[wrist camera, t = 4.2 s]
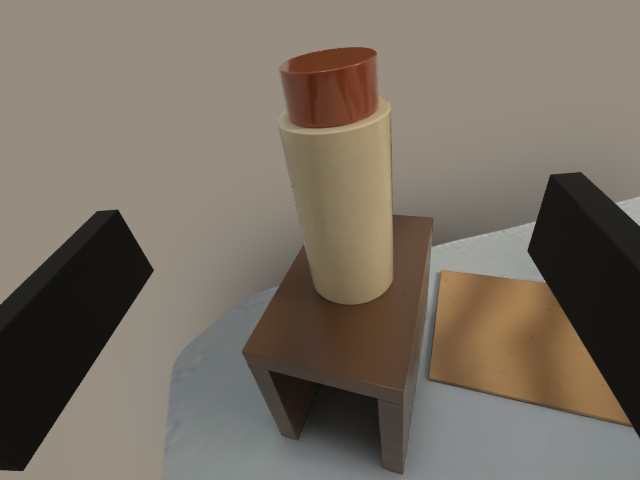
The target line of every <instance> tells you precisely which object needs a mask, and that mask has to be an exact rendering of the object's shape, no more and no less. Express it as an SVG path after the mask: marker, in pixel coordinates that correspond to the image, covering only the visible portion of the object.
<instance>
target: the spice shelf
mask: <svg viewBox="0 0 640 480" xmlns="http://www.w3.org/2000/svg"><path fill="white" fill-rule="evenodd" d="M432 229H433V218H429V217H416V216H403V215H393V268H394V276H393V280H392V283H391V285H390V287H389V288H388V289H387V290H386V291H385V292H384V293H383V294H382V295H381V296H379V297H378V298H376V299H374V300H372V301H369V302H366V303H362V304H356V305H344V304H338V303H334V302H331V301H329V300H327V299H325V298H324V297H322V296H321V295H320V294H319V293H318V292H317V291H316V289H315V288H314V285H313V283H312V278H311V273H310V269H309V264H308V260H307V255H306V251H305V246H304V245H303V246H302V248H301V250H300V252H299V254H298V255H297V257H296V259H295V260H294V262H293V264H292V266H291V267H290V269H289V271H288V272H287V274H286V276H285V278H284V279H283V281H282V283H281V285H280V286H279V288H278V290H277V291H276V293H275V295H274V297H273V298H272V300H271V302H270V303H269V305H268V307H267V309H266V310H265V312H264V314H263V316H262V317H261V319H260V321H259V322H258V324H257V326H256V328H255V329H254V331H253V333H252V335H251V336H250V338H249V340H248V341H247V343H246V345H245V347H244V348H243V350H242V353H243V355H244V358H245V360H246V362H247V364H248V366H249V368H250V370H251V372H252V374H253V376H254V378H255V380H256V382H257V385H258V387H259V389H260V391H261V393H262V395H263V397H264V399H265V401H266V403H267V405H268V407H269V410H270V412H271V414H272V416H273V418H274V420H275V422H276V424H277V426H278V428H279V430H280V432H281V435H283V436H286V437H289V438H293V439H296V440H298V438H299V435H300V432H301V430H302V427H303V424H304V421H305V419H306V416H307V413H308V410H309V408H310V405H311V402H312V399H313V397H314V394H315V391H316V388H317V386H318V383H320V384H324V385H328V386H331V387H335V388H339V389H343V390H347V391H350V392H354V393H358V394H362V395H366V396H370V397H373V398H377V401H378V414H379V426H380V438H381V451H382V463H383V468H384V469H387V470H390V471H393V472H396V473H399V474H403V470H404V463H405V456H406V449H407V443H408V436H409V429H410V422H411V415H412V408H413V401H414V394H415V387H416V380H417V373H418V366H419V360H420V353H421V346H422V339H423V332H424V325H425V318H426V311H427V299H428V285H429V271H430V257H431V243H432Z"/></svg>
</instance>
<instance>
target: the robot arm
mask: <svg viewBox="0 0 640 480" xmlns="http://www.w3.org/2000/svg"><path fill="white" fill-rule="evenodd" d="M528 253H529V255H530V256H531V258H532V260H533V261H534V263H535V265H536V266H537V268H538V270H539V271H540V273H541V275H542V276H543V278H544V280H545V281H546V283H547V285H548V286H549V288H550V290H551V291H552V293H553V295H554V296H555V298H556V300H557V301H558V303H559V305H560V306H561V308H562V310H563V311H564V313H565V315H566V316H567V318H568V320H569V321H570V323H571V325H572V326H573V328H574V330H575V331H576V333H577V335H578V336H579V338H580V340H581V341H582V343H583V344H584V346H585V348H586V349H587V351H588V353H589V354H590V356H591V358H592V359H593V361H594V363H595V364H596V366H597V368H598V369H599V371H600V373H601V374H602V376H603V378H604V379H605V381H606V383H607V384H608V386H609V388H610V389H611V391H612V393H613V394H614V396H615V398H616V399H617V401H618V403H619V404H620V406H621V408H622V409H623V411H624V413H625V414H626V416H627V418H628V419H629V421H630V423H631V424H632V426H633V428H634V429H635V431H636V433H637V434H638V436H639V438H640V226H639V225H638V224H637V223H636V222H635V221H633V220H632V219H631V218H630V217H629V216H628V215H627V214H626V213H625V212H624V211H623V210H621V209H620V208H619V207H618V206H617V205H616V204H615V203H614V202H613V201H612V200H611V199H610V198H608V197H607V196H606V195H605V194H604V193H603V192H602V191H601V190H600V189H599V188H598V187H597V186H595V185H594V184H593V183H592V182H591V181H590V180H589V179H588V178H587V177H586V176H584V175H583V174H582V173H581V172H578V173H565V174H553V175H550V177H549V181H548V184H547V188H546V191H545V194H544V197H543V201H542V204H541V208H540V211H539V214H538V217H537V221H536V224H535V227H534V231H533V234H532V237H531V241H530V244H529V247H528ZM153 271H154V270H153V268H152V266H151V265H150V263H149V261H148V260H147V258H146V256H145V255H144V253H143V251H142V249H141V248H140V246H139V244H138V243H137V241H136V239H135V238H134V236H133V234H132V232H131V231H130V229H129V228H128V226H127V224H126V222H125V221H124V219H123V217H122V216H121V214H120V212H119V211H118V210H106V211H97V212H96V213H95V214H94V215H93V216H92V217H91V218H90V219H89V220H88V221H87V222H86V223H84V224H83V225H82V226H81V227H80V228H79V229H78V230H77V231H76V232H75V233H74V234H73V235H72V236H71V237H70V238H69V239H68V240H67V241H66V242H65V243H64V244H63V245H62V246H61V247H60V248H59V249H58V250H57V251H55V252H54V253H53V254H52V255H51V256H50V257H49V258H48V259H47V260H46V261H45V262H44V263H43V264H42V265H41V266H40V267H39V268H38V269H37V270H36V271H35V272H34V273H33V274H32V275H31V276H29V277H28V278H27V279H26V280H25V281H24V282H23V283H22V284H21V285H20V286H19V287H18V288H17V289H16V290H15V291H14V292H13V293H12V294H11V295H10V296H9V297H8V298H7V299H6V300H5V301H4V302H3V303H2V304H1V305H0V470H8V471H24V469H25V467H26V466H27V464H28V463H29V461H30V460H31V458H32V457H33V455H34V454H35V452H36V451H37V449H38V447H39V446H40V444H41V443H42V441H43V440H44V438H45V437H46V435H47V433H48V432H49V431H50V429H51V428H52V426H53V425H54V423H55V421H56V420H57V418H58V417H59V415H60V414H61V412H62V411H63V409H64V408H65V406H66V404H67V403H68V401H69V400H70V398H71V397H72V395H73V394H74V392H75V391H76V389H77V388H78V386H79V385H80V383H81V381H82V380H83V379H84V377H85V375H86V374H87V372H88V371H89V369H90V368H91V366H92V364H93V363H94V361H95V360H96V358H97V357H98V355H99V354H100V352H101V351H102V349H103V348H104V346H105V345H106V343H107V342H108V340H109V339H110V337H111V336H112V334H113V332H114V331H115V329H116V328H117V326H118V325H119V323H120V322H121V320H122V319H123V317H124V316H125V314H126V313H127V311H128V309H129V308H130V306H131V305H132V303H133V302H134V300H135V299H136V297H137V296H138V294H139V293H140V291H141V290H142V288H143V286H144V285H145V283H146V282H147V280H148V278H149V277H150V276H151V274H152V272H153Z"/></svg>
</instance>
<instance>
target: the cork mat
mask: <svg viewBox="0 0 640 480" xmlns="http://www.w3.org/2000/svg"><path fill="white" fill-rule="evenodd" d="M429 380H432V381H436V382H441V383H445V384H449V385H454V386H458V387H462V388H467V389H471V390H476V391H480V392H484V393H489V394H493V395H497V396H502V397H506V398H510V399H515V400H519V401H523V402H528V403H532V404H536V405H541V406H545V407H549V408H554V409H558V410H562V411H567V412H571V413H575V414H580V415H584V416H588V417H593V418H597V419H601V420H606V421H610V422H614V423H619V424H623V425H628V426H632V424H631V423H630V421H629V419H628V418H627V416H626V414H625V413H624V411H623V409H622V408H621V406H620V404H619V403H618V401H617V399H616V398H615V396H614V394H613V393H612V391H611V389H610V388H609V386H608V384H607V383H606V381H605V379H604V378H603V376H602V374H601V373H600V371H599V369H598V368H597V366H596V364H595V363H594V361H593V359H592V358H591V356H590V354H589V353H588V351H587V349H586V348H585V346H584V344H583V343H582V341H581V340H580V338H579V336H578V335H577V333H576V331H575V330H574V328H573V326H572V325H571V323H570V321H569V320H568V318H567V316H566V315H565V313H564V311H563V310H562V308H561V306H560V305H559V303H558V301H557V300H556V298H555V296H554V295H553V293H552V291H551V290H550V288H549V286H548V285H547V283H542V282H534V281H526V280H518V279H510V278H502V277H493V276H485V275H477V274H469V273H461V272H453V271H445V270H441V278H440V286H439V295H438V303H437V312H436V320H435V329H434V337H433V346H432V354H431V363H430V371H429ZM632 427H633V426H632Z"/></svg>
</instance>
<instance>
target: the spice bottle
mask: <svg viewBox="0 0 640 480" xmlns="http://www.w3.org/2000/svg"><path fill="white" fill-rule="evenodd" d="M278 69H279V74H280V79H281V84H282V89H283V94H284V99H285V105H286V111H284V112H283V113H282V114H281V115H280V117H279V118H278V127H279V132H280V137H281V141H282V146H283V150H284V155H285V159H286V164H287V168H288V173H289V178H290V182H291V187H292V191H293V196H294V201H295V205H296V209H297V214H298V219H299V223H300V228H301V232H302V237H303V242H304V246H305V251H306V255H307V260H308V264H309V269H310V273H311V278H312V283H313V285H314V288H315V289H316V291H317V292H318V293H319V294H320V295H321V296H322V297H324V298H325V299H327V300H329V301H331V302H334V303H338V304H344V305H356V304H362V303H366V302H369V301H372V300H374V299H376V298H378V297H379V296H381V295H382V294H383V293H384V292H385V291H386V290H387V289H388V288H389V287H390V285H391V283H392V280H393V276H394V268H393V212H392V211H393V206H392V144H391V105H390V103H389V102H388V101H387V100H386V99H384V98H382V97H379V91H378V64H377V52H376V51H375V50H373V49H370V48H362V47H350V48H337V49H329V50H323V51H318V52H313V53H309V54H305V55H301V56H298V57H295V58H292V59H290V60H288V61H286V62H284V63H282V64H281V65H280V66H279V68H278Z"/></svg>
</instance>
